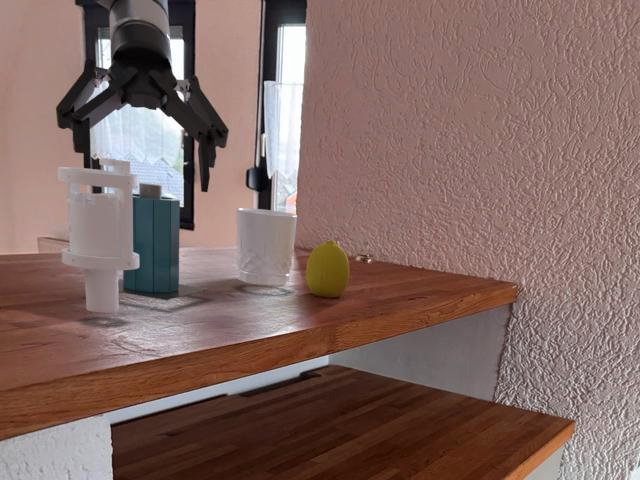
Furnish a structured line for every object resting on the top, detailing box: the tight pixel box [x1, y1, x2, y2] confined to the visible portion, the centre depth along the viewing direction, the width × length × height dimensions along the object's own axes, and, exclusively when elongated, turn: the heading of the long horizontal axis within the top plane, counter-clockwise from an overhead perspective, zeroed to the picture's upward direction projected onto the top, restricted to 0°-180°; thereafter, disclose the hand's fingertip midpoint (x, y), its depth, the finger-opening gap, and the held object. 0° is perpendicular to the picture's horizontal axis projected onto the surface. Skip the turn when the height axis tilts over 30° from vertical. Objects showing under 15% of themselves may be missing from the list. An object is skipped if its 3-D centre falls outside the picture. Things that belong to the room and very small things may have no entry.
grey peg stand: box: [118, 182, 209, 301], centre depth 83 cm, size 10×10×12 cm
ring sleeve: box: [121, 192, 181, 293], centre depth 83 cm, size 6×6×10 cm
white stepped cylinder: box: [57, 157, 140, 314], centre depth 70 cm, size 7×7×15 cm
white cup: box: [236, 207, 298, 287], centre depth 98 cm, size 8×8×10 cm
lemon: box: [305, 239, 350, 299], centre depth 93 cm, size 6×6×8 cm
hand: (148, 178), depth 87 cm, fingers open, 13 cm apart
